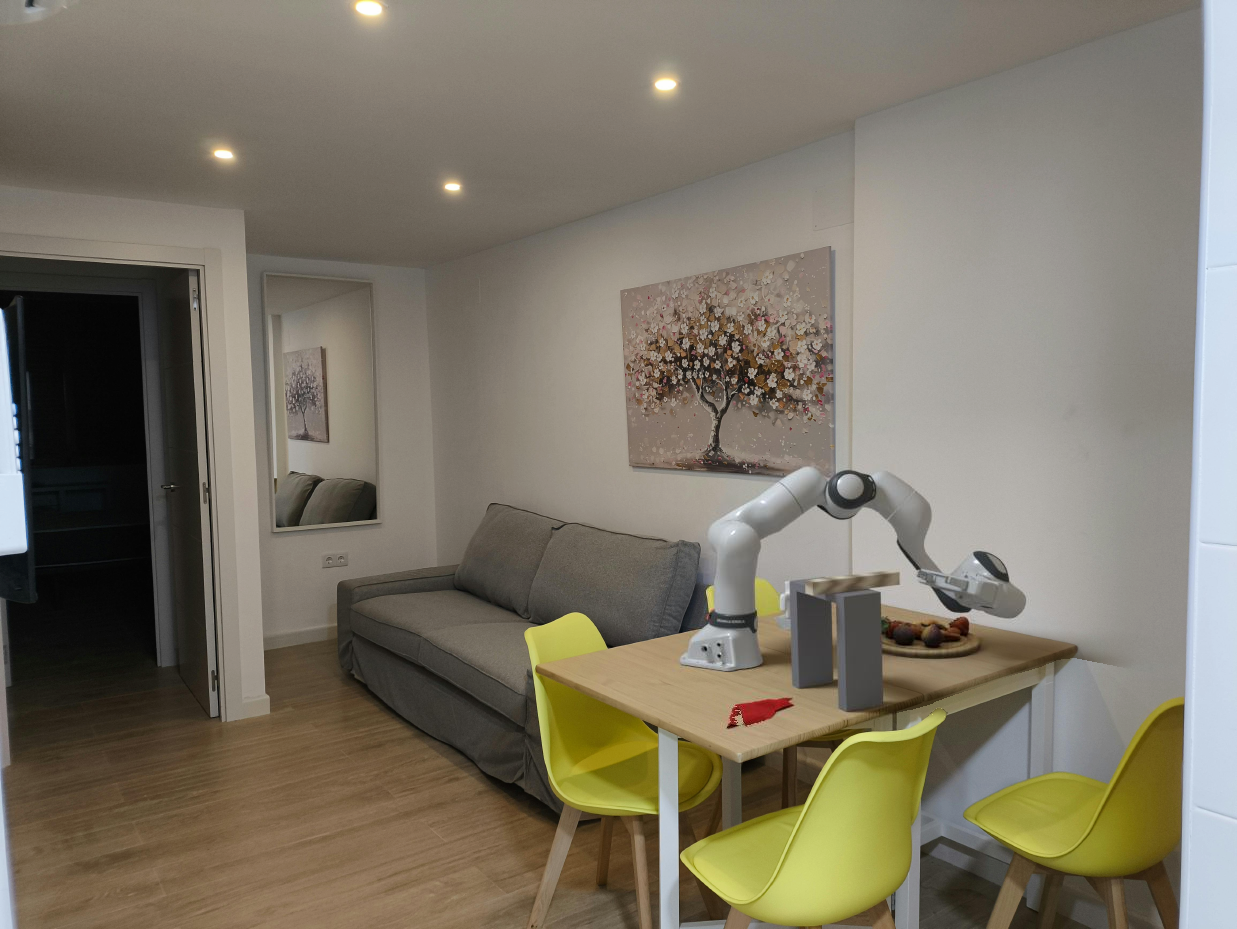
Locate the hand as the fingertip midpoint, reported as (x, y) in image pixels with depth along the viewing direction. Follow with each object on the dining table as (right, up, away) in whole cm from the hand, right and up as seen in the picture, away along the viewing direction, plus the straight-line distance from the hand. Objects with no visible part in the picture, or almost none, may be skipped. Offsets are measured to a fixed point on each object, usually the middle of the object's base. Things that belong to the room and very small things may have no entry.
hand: (932, 576), depth 208 cm
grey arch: (-24, -28, -4) cm, 37 cm away
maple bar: (-22, -2, -9) cm, 24 cm away
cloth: (-45, -30, -14) cm, 55 cm away
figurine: (-22, -25, +61) cm, 70 cm away
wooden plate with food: (+11, -25, +38) cm, 47 cm away
